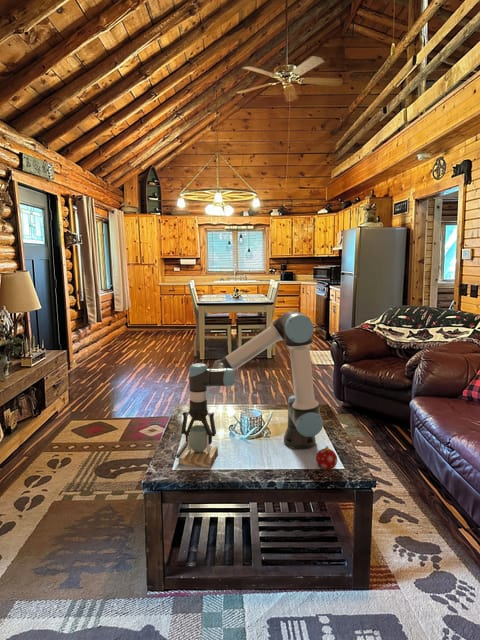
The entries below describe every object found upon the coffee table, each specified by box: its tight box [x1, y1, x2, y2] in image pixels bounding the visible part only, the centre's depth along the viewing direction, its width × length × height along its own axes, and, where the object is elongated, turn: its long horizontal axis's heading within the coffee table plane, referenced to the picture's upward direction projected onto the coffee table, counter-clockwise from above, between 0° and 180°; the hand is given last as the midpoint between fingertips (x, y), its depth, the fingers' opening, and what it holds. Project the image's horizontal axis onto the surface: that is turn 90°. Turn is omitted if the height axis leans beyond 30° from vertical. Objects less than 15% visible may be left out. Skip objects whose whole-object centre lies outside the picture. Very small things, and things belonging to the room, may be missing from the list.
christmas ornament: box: [315, 445, 338, 471], centre depth 171 cm, size 9×9×10 cm
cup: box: [189, 424, 208, 452], centre depth 179 cm, size 8×8×10 cm
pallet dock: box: [175, 441, 219, 468], centre depth 180 cm, size 15×14×4 cm
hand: (198, 449), depth 180 cm, fingers closed on cup, 8 cm apart
